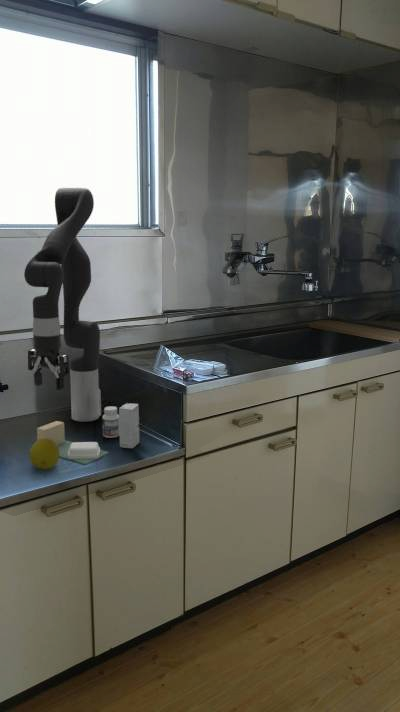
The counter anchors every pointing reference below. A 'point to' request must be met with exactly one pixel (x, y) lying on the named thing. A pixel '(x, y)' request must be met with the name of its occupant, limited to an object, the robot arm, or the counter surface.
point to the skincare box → (129, 425)
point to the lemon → (44, 454)
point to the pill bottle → (110, 422)
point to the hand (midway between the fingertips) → (49, 387)
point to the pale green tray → (62, 441)
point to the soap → (84, 450)
